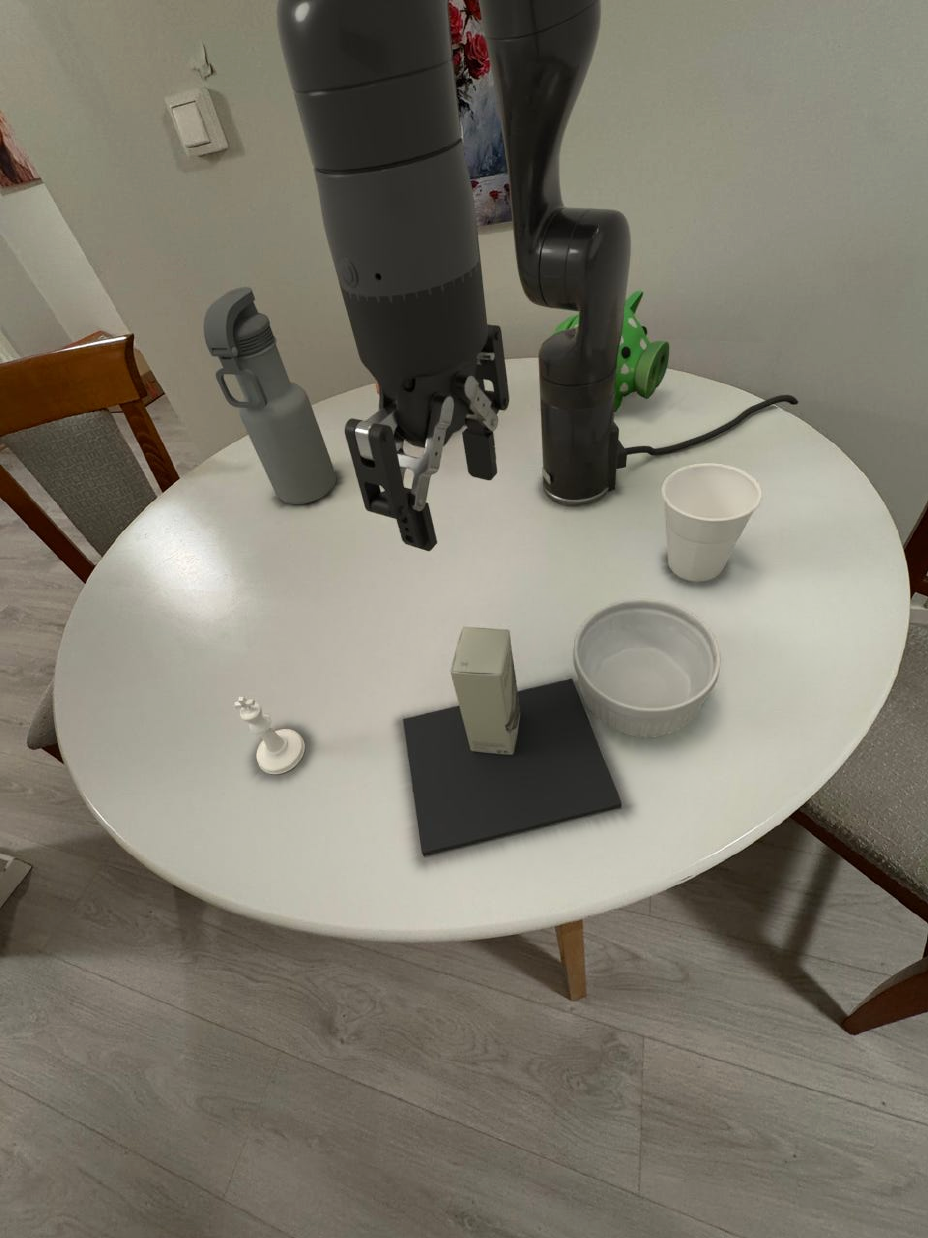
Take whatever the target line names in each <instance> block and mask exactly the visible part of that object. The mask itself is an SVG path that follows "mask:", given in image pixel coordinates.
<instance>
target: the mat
mask: <svg viewBox="0 0 928 1238" xmlns="http://www.w3.org/2000/svg"><path fill="white" fill-rule="evenodd" d="M517 691H518V698H519V706H520V719H519V727H518V734H517V739H516V744H515V749H514V754H513V755H507V754H496V753H485V752H476V751H471V749H470V745H469V741H468V737H467V733H466V729H465V725H464V722H463V718H462V714H461V710H460V706H459V705H455V706H451V707H446V708H443V709H439V710H433V711H430V712H426V713H422V714H418V715H414V716H409V717H406V718H403V719H402V722H403V723H402V724H403V730H404V737H405V744H406V750H407V751H406V752H407V759H408V764H409V765H408V766H409V773H410V780H411V787H412V794H413V800H414V801H413V802H414V808H415V815H416V823H417V829H418V836H419V843H420V850H421V854H422V857H427V856H431V855H435V854H438V853H439V854H440V853H443V852H447V851H451V850H455V849H459V848H463V847H467V846H472V845H475V844H479V843H483V842H487V841H491V840H496V839H499V838H504V837H507V836H512V835H515V834H519V833H523V832H529V831H532V830H536V829H539V828H544V827H548V826H551V825H556V824H560V823H565V822H568V821H572V820H576V819H580V818H583V817H588V816H593V815H597V814H600V813H605V812H608V811H612V810H617V809H620V808H622V806H623V803H622V800H621V798H620V795H619V792H618V790H617V787H616V785H615V783H614V780H613V777H612V775H611V772H610V769H609V768H608V764H607V762H606V760H605V758H604V755H603V751H602V749H601V747H600V745H599V742H598V740H597V738H596V737H597V736H596V735H595V732H594V730H593V728H592V727H593V726H592V725H591V721H590V719H589V717H588V715H587V712H586V710H585V707H584V704H583V703H582V699H581V697H580V694H579V692H578V690H577V687H576V684H575V682H574V679H573V678H567V679H563V680H559V681H555V682H550V683H547V684H542V685H539V686H534V687H530V688H526V689H521V690H517Z"/></svg>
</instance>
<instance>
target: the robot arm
mask: <svg viewBox="0 0 928 1238" xmlns="http://www.w3.org/2000/svg"><path fill="white" fill-rule="evenodd" d="M477 1H478V6H479V13H480V17H481V18H480V19H481V24H482V29H483V35H484V40H485V45H486V49H487V54H488V59H489V64H490V69H491V74H492V79H493V85H494V91H495V96H496V97H495V98H496V102H497V108H498V115H499V121H500V128H501V133H502V140H503V141H502V142H503V147H504V154H505V162H506V170H507V178H508V187H509V197H510V208H511V220H512V230H513V242H514V252H515V260H516V267H517V273H518V277H519V281H520V286H521V288H522V291H523V293H524V295H525V297H526V298H527V299H528V300H529V302H530V303H532V304H534V305H536V306H539V307H544V308H548V309H556V310H563V311H564V310H565V311H572V312H578V314H579V323H578V326H577V327H573V328H569V329H566V330H563V331H560V332H558V333H556V334H554V335H552V334H551V335H552V336H551V335H550V336H549V337H547V338H546V339H545V340H544V341H543V342H542V344H541V345H540V347H539V349H538V375H539V376H538V382H539V403H540V404H539V405H540V426H541V427H540V429H541V451H542V466H541V474H542V478H543V479H542V488H543V492H544V494H545V495H546V497H548V498H549V500H551V501H553V502H555V503H558V504H561V505H564V506H576V507H577V506H585V505H586V506H587V505H590V504H593V503H596V502H597V501H599V500H601V499H603V498H604V497H605V496H606V495H607V494H609V492H614V491H616V483H617V471H618V470H620V469H624V468H627V461H628V456H629V455H636V454H648V455H650V456H661V455H667V454H672V453H676V452H678V451H682V450H685V449H688V448H691V447H694V446H697V445H700V444H702V443H705V442H708V441H710V440H711V439H714V438H716V437H718V436H720V435H722V434H724V433H726V432H728V431H730V430H732V429H734V428H735V427H736V426H738V425H740V424H741V423H742V422H743V421H745V419H747V418H748V417H749V416H751V415H753V414H754V413H757V412H759V411H761V410H764V409H766V408H769V407H771V406H773V405H776V404H779V403H784V402H785V403H788V404H790V405H791V406H793V405H794V406H795V405H798V404H799V403H800V402H799V400H798V398H796V397H795V396H794V395H790V394H780V395H777V396H773V397H771V398H768V399H766V400H764V401H761V402H759V403H757V404H754V405H752V406H750V407H748V408H747V409H744V411H742V412H741V413H740V414H738V415H737V416H736V417H734V418H733V419H732V420H729V421H728V422H726V423H724V424H723V425H721V426H719V427H717V428H715V429H712V430H711V431H709V432H706V433H704V434H701V435H699V436H695V437H693V438H691V439H688V440H684V441H681V442H678V443H675V444H672V445H668V446H664V447H656V448H654V447H652V446H650V445H635V446H628V447H625V446H624V445H623V444H622V442H621V441H620V428H619V426H618V425H617V423H616V422H615V413H614V409H615V391H616V374H617V359H618V351H619V346H620V341H621V336H622V330H623V320H624V309H625V301H626V300H627V290H628V283H629V276H630V275H629V274H630V265H631V256H632V236H631V229H630V225H629V221H628V219H627V217H626V216H625V214H624V213H623V212H621V211H619V210H616V209H612V208H611V209H609V208H593V207H566V206H565V205H564V202H563V197H562V189H561V179H560V162H561V161H560V160H561V158H560V157H561V150H562V146H563V145H562V144H563V141H564V137H565V133H566V131H567V127H568V125H569V122H570V119H571V116H572V114H573V110H574V108H575V106H576V103H577V101H578V98H579V95H580V93H581V91H582V88H583V86H584V82H585V80H586V78H587V75H588V72H589V70H590V66H591V63H592V61H593V57H594V54H595V52H596V47H597V43H598V39H599V35H600V30H601V29H600V28H601V21H602V0H477ZM275 12H276V13H275V14H276V26H277V27H276V28H277V34H278V38H279V43H280V49H281V51H282V54H283V58H284V62H285V67H286V71H287V75H288V79H289V83H290V87H291V89H292V90H293V91H292V93H293V97H294V100H295V106H296V108H297V112H298V116H299V119H300V123H301V127H302V131H303V134H304V138H305V139H304V140H305V142H306V146H307V149H308V153H309V157H310V160H311V163H312V166H313V172H314V177H315V182H316V186H317V192H318V199H319V205H320V213H321V218H322V223H323V224H322V225H323V228H324V232H325V237H326V240H327V245H328V248H329V251H330V254H331V259H332V262H333V267H334V269H335V273H336V277H337V280H338V284H339V288H340V291H341V295H342V296H341V297H342V299H343V302H344V306H345V309H346V310H345V311H346V314H347V316H348V317H347V318H348V321H349V325H350V328H351V331H352V335H353V339H354V342H355V347H356V350H357V354H358V357H359V359H360V361H361V364H362V365H363V366H364V367H365V368H366V370H368V371H369V373H370V374H371V375H372V377H373V378H374V380H375V382H376V381H377V383H378V386H379V394H378V395H379V396H378V410H377V411H376V412H375V413H373V414H372V415H371V416H369V417H368V418H367V419H366V420H362V419H358V418H353V417H352V418H349V419H348V420H347V421H346V422H345V425H344V436H345V439H346V443H347V447H348V451H349V454H350V457H351V462H352V465H353V469H354V472H355V476H356V480H357V483H358V488H359V491H360V494H361V495H360V496H361V498H362V502H363V506H364V508H365V510H366V511H367V512H369V513H373V514H376V515H379V516H384V517H387V518H391V519H394V520H396V524H397V527H398V530H399V534H400V538H401V540H402V542H403V543H404V544H405V545H407V546H410V547H413V548H417V549H419V550H422V551H426V552H431V551H432V550H433V549H434V548H435V547H436V545H438V540H437V534H436V530H435V526H434V522H433V518H432V513H431V508H430V503H429V502H427V500H428V499H427V498H428V494H429V488H430V483H431V478H432V476H433V475H435V474H436V473H438V471H439V470H440V466H441V460H442V455H443V450H444V447H445V446H446V445H447V444H448V442H449V440H450V439H451V438H452V436H453V435H454V434H455V433H457V432H459V431H460V430H461V429H462V428H463V427H466V428H465V429H464V430H463V431H461V435H462V442H463V448H464V449H463V450H464V456H465V462H466V469H467V472H468V474H469V476H471V477H472V478H476V479H481V480H485V481H492V480H493V479H494V478H495V476H496V475H497V474H498V467H497V466H498V465H497V452H496V447H495V446H496V443H495V442H496V441H495V434H494V432H495V431H496V430H497V428H498V426H499V416H498V414H499V412H500V411H506V410H508V408H509V404H510V392H509V385H508V384H509V383H508V375H507V367H506V359H505V358H506V357H505V351H504V341H503V333H502V327H501V326H500V325H496V324H490V323H488V318H487V317H488V316H487V309H486V308H487V307H486V299H485V289H484V280H483V270H482V261H481V251H480V241H479V232H478V221H477V214H476V213H477V212H476V207H475V206H476V204H475V198H474V197H475V196H474V191H473V186H472V181H471V176H470V173H469V168H468V163H467V159H466V155H465V147H464V141H463V138H462V136H463V134H462V126H461V118H460V117H461V116H460V108H459V99H458V89H457V80H456V72H455V63H454V58H453V57H454V52H453V51H454V50H453V42H452V30H451V16H450V0H277V1H276V11H275ZM484 380H485V381H489V382H491V384H492V388H493V390H488V389H486V387H485V386H486V385H485V381H484ZM405 442H407V443H408V444H409V445H411V446H413V447H418V448H423V449H424V450H423V454H422V455H420V457H417V456H412V455H408V454H407V453H405V451H404V446H405V445H404V444H405ZM407 469H408V470H411V471H412V472H413V476H412V483H411V488H409V487H405V483H404V480H405V474H406V470H407ZM381 488H382V489H383V490H382V489H381Z"/></svg>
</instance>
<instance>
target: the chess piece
mask: <svg viewBox="0 0 928 1238" xmlns="http://www.w3.org/2000/svg"><path fill="white" fill-rule="evenodd" d="M234 707H235V709H240V710H239V718H240V719H241V720H242V721H244V722H247V723H249V725H248V726H249V727H248V728H249V732H250V733H251V734H253V735H260V736H261V738H262V741H261V742H260V743H259V745H258V748H257V750H256V761H257V764H258V765H259V768H260V770H262V772H265V773H266V774H269V775H281V774H285V773H288V772H289V771H291V770H292V769H293V768H295V767H296V766H297V765H298V764H299V763H300V762H301V760H302V758H303V757H304V755H305V750H306V749H305V748H306V745H305V744H306V743H305V740H304V738H303V737H302V736H301V735H300V733H298V732H297V731H295V730H293V729H290V728H289V729H288V728H281V729H278V730H273V728H271V725H272V718H271V717H270V716H269V715H267V714H265V713H263V712H262V711H263V710H262V705H261V704H260V703H259V702H257V701H255V700H254V699H247V698H245V696H239V697H238V701H234Z"/></svg>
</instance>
